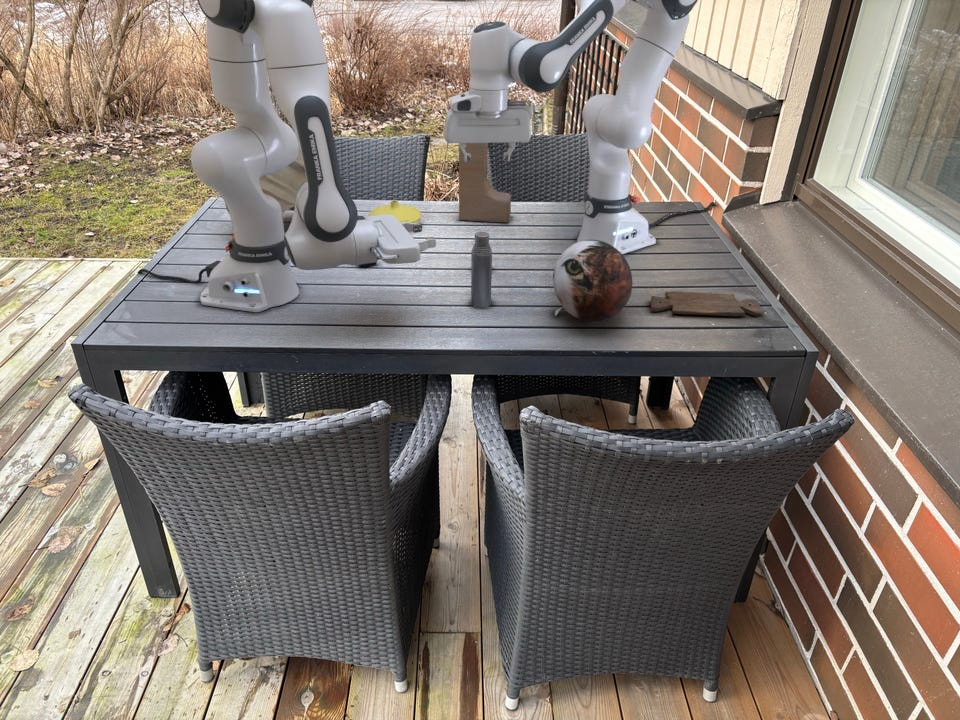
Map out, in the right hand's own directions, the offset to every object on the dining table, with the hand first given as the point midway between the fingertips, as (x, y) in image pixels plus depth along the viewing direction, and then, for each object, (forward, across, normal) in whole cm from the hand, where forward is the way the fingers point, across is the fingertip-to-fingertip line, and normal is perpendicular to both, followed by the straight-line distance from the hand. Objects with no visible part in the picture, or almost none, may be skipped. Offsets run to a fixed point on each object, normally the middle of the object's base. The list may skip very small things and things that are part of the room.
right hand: (487, 161), depth 170 cm
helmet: (+28, +54, -31) cm, 69 cm away
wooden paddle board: (+28, -48, +26) cm, 62 cm away
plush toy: (+28, -20, +28) cm, 44 cm away
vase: (+28, +22, -35) cm, 50 cm away
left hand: (+9, +16, +22) cm, 29 cm away
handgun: (+28, +28, -13) cm, 42 cm away
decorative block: (+28, -5, -39) cm, 48 cm away
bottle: (+28, +3, +19) cm, 34 cm away
